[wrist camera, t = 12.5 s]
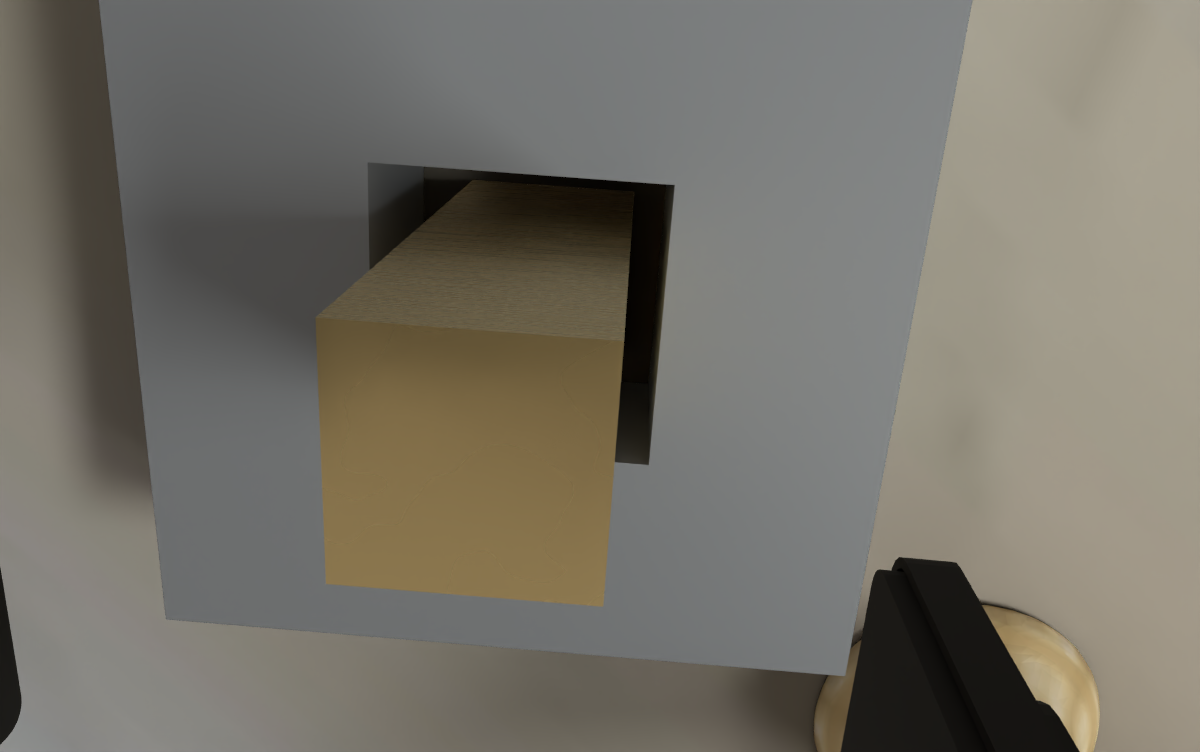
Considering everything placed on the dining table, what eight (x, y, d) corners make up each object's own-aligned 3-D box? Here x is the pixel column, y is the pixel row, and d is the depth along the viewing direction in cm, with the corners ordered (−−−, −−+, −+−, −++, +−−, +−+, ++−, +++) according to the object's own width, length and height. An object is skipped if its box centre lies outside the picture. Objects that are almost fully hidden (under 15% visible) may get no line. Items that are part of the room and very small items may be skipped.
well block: (912, -58, 21) (987, -82, 17) (810, 562, 27) (844, 676, 22) (205, -107, 22) (82, -145, 17) (249, 516, 27) (165, 619, 22)
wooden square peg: (634, 191, 23) (624, 341, 12) (622, 345, 25) (603, 606, 14) (473, 179, 24) (315, 317, 12) (470, 333, 25) (326, 583, 14)
